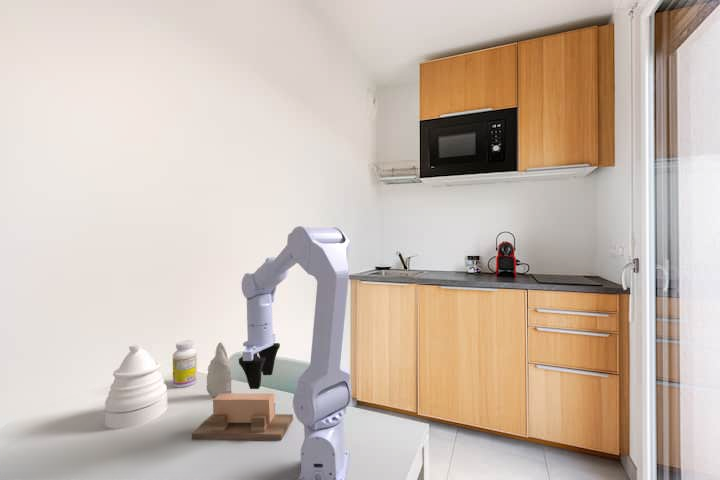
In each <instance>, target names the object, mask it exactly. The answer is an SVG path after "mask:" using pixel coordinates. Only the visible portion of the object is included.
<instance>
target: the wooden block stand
mask: <svg viewBox="0 0 720 480" xmlns="http://www.w3.org/2000/svg"><path fill="white" fill-rule="evenodd" d="M274 413H275V416H274V417H273V419H272V420H271V422H270V423H266V415H252V417H251V423H234V422H227V418H226V415H213V413H211V415H210V416H208V417H206V419H205V420H204V421H203V422H202V423H201V424H200V425H199V426H198V427H197V428H196V429H194V431H193V432H191V440H247V441H248V440H249V441H251V440H252V441H253V440H255V441H259V440H260V441H282V440H283V439H284V437H285V435H286V433H287V431H288V429H289V428H290V426H291V423H292V421H293V420H294V415H293V414H291V413H290V414H289V413H286V414H285V413H284V414H281V413H280V414H279V413H277V414H276V403H275V402H274Z"/></svg>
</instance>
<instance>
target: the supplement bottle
mask: <svg viewBox="0 0 720 480" xmlns="http://www.w3.org/2000/svg"><path fill="white" fill-rule="evenodd" d="M175 343H176V342H175ZM175 349H176V350H175V351H174V353H173V354H172V382H173V383H172V384H173V387H175V388H186V387H190V386H192V385H195V384H196V382H198V351H197V349H195V348H194V340H191V339H190V340H182V341H178V342H177V343H176V344H175Z"/></svg>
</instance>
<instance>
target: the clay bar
mask: <svg viewBox="0 0 720 480" xmlns="http://www.w3.org/2000/svg"><path fill="white" fill-rule="evenodd" d="M274 403H275V393H231V394H219V395H218V396H217V397H214V398H213V399H212V407H213V408H212V414H213V415H226V418H227V422H234V423H251V417H252V415H266V423H270V422H271V420H272V419H273V417H274V416H275V414H276V412H275V413H274Z"/></svg>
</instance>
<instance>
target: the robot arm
mask: <svg viewBox="0 0 720 480" xmlns="http://www.w3.org/2000/svg"><path fill="white" fill-rule="evenodd" d="M350 241H351V240H350V239H349V238H348V237H347V235H346V234H345V233H344V231H343V230H342V229H341V228H339V227H309V226H307V227H305V226H301V225H299V226H296V227H294V228H293V229H292V231H291V232H290V233H289V234H288V235H287V242H286V245H285V246H284V248H283V249H282V250H281V252H279V253H278V255H277V257H276V256H275V257H274V256H273V257H271V256H270V257H267V258H266V259H265V261H264V262H263V263H262V264H261V266H259V267H258V268H257V269H256V271H254V272H253V273H249V272H248V273H244V275H243V277H242V280H241V291H242V292H241V293H242V294H243V296H244V298H245V299H246V321H247V322H246V325H247V326H246V327H247V329H246V330H247V340H246V341H244V342H243V343H242V346H243V347H245V349H244V350H243V351H242V356H241V357H239V358H238V364H239V365H240V367H241V368H242V369H243V372H244V374H245V377H246V380H247V384H248V387H249V389H250V390H258V389H260V387H261V384H262V375H263V376H272V375H273V372H274V367H275V361H276V358H277V353H278V352H279V349H280V347H281V343H279V342H276V333H273V332H274V331H273V330H274V329H273V327H274V326H273V303H275V295H276V294H275V293H276V291H277V286H278V285H279V284H281V283H282V282H283V281H284V280H285V279H286V278H288V275H289V269H291V268H292V267H294V266H295V265H296V264H298V265H299V266H300V267H301V268H302V269H303V270H304V271H305V272H306V273H307V275H310V276H313V278H314V279H315V280H316V282H317V284H316V295H315V304H314V305H315V307H314V316H313V318H314V319H313V328H312V341H311V353H310V364H309V365H308V367H307V368H306V369H305V371H303V373H302V374H301V375H300V376H299V378H298V380H297V387H296V389H295V391H294V393H293V398H292V405H293V406H292V408H293V410H294V415H295V416H296V418H297V420H298V422H300V423H301V424H302V425H303V427H304V428H303V429H304V430H303V431H304V434H303V435H304V438H303V443H302V445H301V449H300V469H301V470H300V473H299V475H298V478H297V480H345V479H346V475H347V470H348V462H349V458H350V451H349V450H347V449H346V450H345V427H344V426H345V425H344V424H345V423H344V421H345V420H344V417H345V415H346V414H347V407H349V405H350V404H351V403H352V398H353V397H352V396H353V393H352V386H351V373H350V371H348V370H347V368H346V367H344V366H343V365H341V359H342V348H343V338H344V329H345V317H346V308H347V299H348V298H347V296H348V288H349V287H348V286H349V276H350V273H349V270H350V269H349V254H350V253H349V251H350V243H351V242H350Z"/></svg>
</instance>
